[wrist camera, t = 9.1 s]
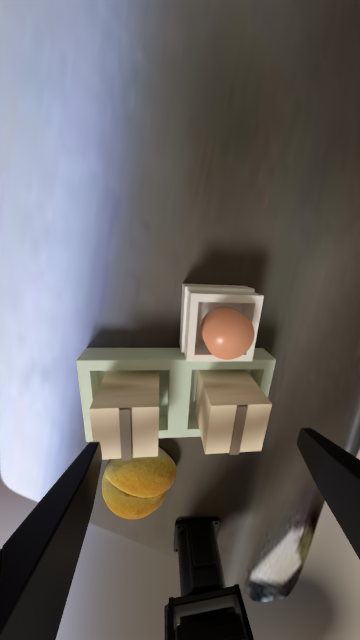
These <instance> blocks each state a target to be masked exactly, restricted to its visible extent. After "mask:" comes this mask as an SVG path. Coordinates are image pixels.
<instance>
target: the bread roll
mask: <svg viewBox="0 0 360 640" xmlns="http://www.w3.org/2000/svg"><path fill="white" fill-rule="evenodd" d="M175 477H176V465H175V463H174V461H173V460H172V459H171V457H170V456H169V455H168V454H166V452H165V451H164V450H162V449H161V448H160V447H158V456H156V457H138V458H132V460H128V461H121V459H111V461H110V462H109V463H108V465H107V467H106V469H105V473H104V476H103V480H102V492H103V498H104V500H105V502H106V504H107V506H108V507H109V508H110V509H111V510H112V511H113V512H114V513H115V514H116V515H117V516H120V517H123V518H126V519H139V518H142V517H145V516H147V515H149V514H151V513H152V512H153V511H154V510H156V509H157V508H158V507H159V506H160V505H161V504H162V502H163V500H164V498H165V495H166V492H167V490H168V489H169V488H170V487H171V485H172V484H173V482H174V480H175Z"/></svg>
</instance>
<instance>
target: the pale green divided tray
mask: <svg viewBox="0 0 360 640" xmlns="http://www.w3.org/2000/svg"><path fill="white" fill-rule="evenodd" d="M76 362H77V370H78V378H79V386H80V394H81V402H82V411H83V419H84V427H85V435H86V442H91V441H93V438H92V429H91V419H90V410H89V409H90V406H91V404H92V402H93V400H94V398H95V396H96V393H97V391H98V389H99V387H100V385H101V383H102V380H103V378H104V376H105V374H106V372H107V371H117V370H159V434H158V438H176V437H197V436H201V434H200V429H199V425H198V421H197V416H196V412H195V408H194V406H195V394H196V383H197V372H198V370H219V369H246V370H247V372H248V373H249V374H250V375H251V377H252V378H253V379H254V381H255V382H256V383H257V385H258V386H259V387H260V389H261V390H262V391H263V393H264V394H265V395H266V397H267V398H268V394H269V390H270V385H271V381H272V376H273V372H274V367H275V363H276V359H275V358H274V357H273V356H271V355H270V354H269V353H268V352H267V351H266V350H265V349H264V348H254V354H253V359H252V361H216V362H187V361H186V358H185V354H184V353H181V348H86V349H85V350H84V352H83V353H82V354H81V355H80V357H79V358H78V359H77V360H76Z"/></svg>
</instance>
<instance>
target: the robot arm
mask: <svg viewBox="0 0 360 640" xmlns="http://www.w3.org/2000/svg"><path fill="white" fill-rule="evenodd" d="M297 446H298V448H299V450H300V452H301V454H302V456H303V459H304V461H305V463H306V465H307V467H308V469H309V471H310V473H311V475H312V477H313V479H314V481H315V483H316V485H317V487H318V489H319V490H320V492H321V494H322V496H323V497H324V499H325V501H326V502H327V504H328V506H329V508H330V509H331V511H332V513H333V514H334V516H335V518H336V520H337V521H338V523H339V525H340V526H341V528H342V530H343V532H344V533H345V535H346V537H347V538H348V540H349V542H350V544H351V545H352V547H353V549H354V551H355V552H356V554H357V556H358V557H359V559H360V460H359V459H357V458H356V457H354V456H353V455H351V454H350V453H348V452H347V451H345V450H344V449H342V448H341V447H339V446H338V445H336V444H334V443H333V442H331V441H330V440H328V439H327V438H325V437H324V436H322V435H321V434H319V433H318V432H316V431H315V430H313V429H311V428H301V429H300V432H299V435H298V438H297ZM101 463H102V451H101V444H100V442H90V443H89V444H88V445H87V446H86V447H85V448H84V449H83V451H82V452H81V453H80V454H79V455H78V457H77V458H76V459H75V460H74V461H73V463H72V464H71V465H70V466H69V467H68V468H67V470H66V471H65V472H64V473H63V474H62V476H61V477H60V478H59V479H58V480H57V482H56V483H55V484H54V485H53V486H52V488H51V489H50V490H49V491H48V492H47V494H46V495H45V496H44V497H43V498H42V500H41V501H40V502H39V503H38V504H37V506H36V507H35V508H34V509H33V511H32V512H31V513H30V514H29V515H28V516H27V518H26V519H25V520H24V521H23V522H22V524H21V525H20V526H19V527H18V528H17V530H16V531H15V532H14V533H13V534H12V535H11V537H10V538H9V539H8V540H7V541H6V543H5V544H4V545H3V547H2V549H0V640H55V639H56V636H57V632H58V629H59V625H60V622H61V618H62V615H63V611H64V607H65V604H66V601H67V597H68V594H69V589H70V586H71V583H72V579H73V576H74V572H75V568H76V565H77V562H78V558H79V555H80V551H81V547H82V544H83V541H84V537H85V534H86V530H87V527H88V523H89V520H90V516H91V512H92V509H93V504H94V499H95V494H96V489H97V484H98V478H99V473H100V468H101ZM219 525H220V521H219V518H207V519H196V520H185V521H177V522H176V523H175V533H174V552H178V559H179V574H180V591H181V597H177V598H173V597H170V598H169V603H168V604H167V605H166V606H165V640H254V639H253V635H252V631H251V628H250V624H249V621H248V617H247V613H246V610H245V606H244V603H243V599H242V595H241V592H240V588H239V585H238V584H235V585H234V586H231V587H226V584H225V579H224V574H223V569H222V564H221V559H220V554H219V549H218V544H217V536H218V531H219ZM177 624H180V625H178V626H177Z"/></svg>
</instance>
